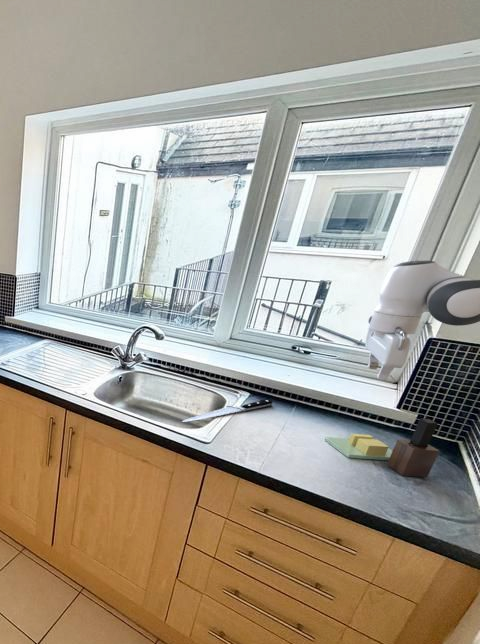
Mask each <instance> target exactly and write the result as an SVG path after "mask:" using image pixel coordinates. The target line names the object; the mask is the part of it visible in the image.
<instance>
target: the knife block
mask: <svg viewBox="0 0 480 644" xmlns="http://www.w3.org/2000/svg"><path fill="white" fill-rule="evenodd" d="M410 441H411V439H397V440H396V442H395V445H394V447H393V449H392V454H391V456H390V458H389V460H387V461H388V462H387V463H386V466H387V467H389V468H390V469H392V470H394V471H395V472H396V473H398V474H399V475H401V476H405V477H416V478H417V477H418V478H428V477H429V475H430V473H431V471H432V468H433V466H434V464H435V462H436V460H437V458H438V456H439V453H440V450H439V449H437V448H436V447H434V446H432V445H431V444H430V443H429V444H428V446H427V448H426V447H417V446H411V445H410V444H412V443H410Z"/></svg>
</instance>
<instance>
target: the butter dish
mask: <svg viewBox="0 0 480 644" xmlns="http://www.w3.org/2000/svg"><path fill="white" fill-rule="evenodd" d="M349 439H350V437H348V438H346V437H333V436H331V437H330V436H325V437H324V438H323V440H324V441H325V442H327V444H329V445H330V446H332V447H334V449H336V450H337V451H339V452H340V453H341V454H342V455H344V456H345V457H346V458H349V459H362V460H378V461H389V458H390V456H391V454H392V451H393V449H390V448H388V450H387V452H386V455H385V456H376V455H365V454H364V453H362V452H361V451H359V450H358V449H357V448H355V446H356V445H351V444H349V443H348V441H349Z"/></svg>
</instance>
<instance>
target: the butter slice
mask: <svg viewBox="0 0 480 644" xmlns="http://www.w3.org/2000/svg"><path fill="white" fill-rule="evenodd" d="M374 438H375V437H374V436H373V435H371V434H363V433H362V434H361V433H350V436H349V441H348V443H349V444H351V445H356V444H357V441H358V439H374Z"/></svg>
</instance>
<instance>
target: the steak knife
mask: <svg viewBox="0 0 480 644" xmlns="http://www.w3.org/2000/svg"><path fill="white" fill-rule="evenodd" d="M272 406H273V400H271V399H268V398H267V399H260V400H257V401H253V402H249V403H246V404H243V405H241V406H234V405H229V404H228V405H226V406H224V407H222V408H219V409H216V410H215V409H214V410H212V411H208V412H206V413H201V414H199V415H195V416H192V417H189V418H185V419H183V420H182V421H181V422H182V423H190V422H195V421H201V420H207V419H211V418H216V417H221V416H226V415H230V414H234V413H239V412H254V411H259V410H263V409H268V408H272Z"/></svg>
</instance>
